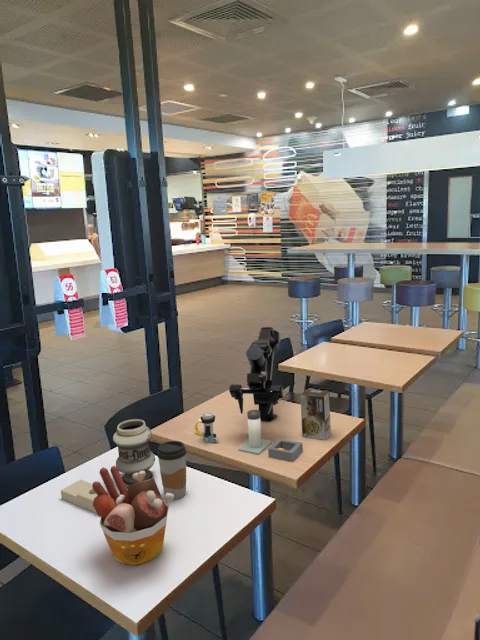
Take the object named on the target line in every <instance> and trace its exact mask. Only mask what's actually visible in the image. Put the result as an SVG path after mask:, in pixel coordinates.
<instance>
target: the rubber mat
mask: <svg viewBox="0 0 480 640" xmlns="http://www.w3.org/2000/svg"><path fill="white" fill-rule="evenodd" d="M272 444H273V442H272V441H271V440H268V439H267V440H266V439H262V446H260V447H257V448H253V447H250V446H249V440H248V441H246V442H245V443H244V444H242V445H241V446H240V447H238V448H237V451H238V452H242V453H247V454H248V453H249V454H254V455H259V456H260V455H261V454H262V453H263V452H264V451H265V450H266V449H267V448H269V447H270V445H272Z"/></svg>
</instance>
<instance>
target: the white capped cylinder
mask: <svg viewBox="0 0 480 640" xmlns="http://www.w3.org/2000/svg"><path fill="white" fill-rule="evenodd" d="M246 415H247V430H248V431H247V432H248V441H249V446H250V447H253V448H257V447H260V446H262V440H263V439H262V423H261V422H262V420H260V411H259V409H250V410H248V411H247V412H246Z"/></svg>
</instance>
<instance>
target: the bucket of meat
mask: <svg viewBox="0 0 480 640" xmlns="http://www.w3.org/2000/svg"><path fill="white" fill-rule="evenodd" d="M109 471H110V472H109ZM110 473H111V474H110ZM121 474H122V473H121V472H120V471H119V470H118V468H117V467H116V465H112V466H111V467H110V470H108V469H107V468H106V467H101V468H100V469H99V475H100V478H101V479H102V482H103V484H104V485H103V484H101V482H99V481H96V480H95V481H93V482H92V484H93V486H92V488H93V490H94V491H95V492H96V494H97V495H98V496H97V497H95V498H94V501H93V507H94V509H95V510H96V512H97V513H96V514H97V516H99V517H100V521H99V525H100V528H101V530H102V533H103V534H104V538H105V539H106V542H107V545H108V548H109V549H110V552H111V555H112V557H113V558H115V559H116V560H117V561H118V562H120V563H121V564H123V565H125V566H139V565H140V566H141V565H144V564H145V563H147V564H148V563H149V562H151V561H152V560H154V559H155V558H156V557H157V556H158V555H159V554H160V553H161V552H162V551H163V548H164V547H163V546H164V541H165V533H166V527H167V522H168V521H167V520H168V513H169V510H170V504H169V502H170V501H174V500H173V498H174V494H171V493H166V495H164V499H163V497H162V494H161V492H160V490H159V486H158V484H157V482H156V479H155V478H154V477H153V478H152V479H148V480H145V481H143V479H144V477H145V475H146V472H145V471H140V472H139V473H134V474H133V475H132V478H133V479H135V480H137V481H138V482H139V483H135V484H132V485H130V486H128V485H125V484H124V481H123V479H122V475H121ZM111 476H112V477H111ZM112 478H113V479H112ZM114 483H115V484H114ZM103 486H105V487H106V489H107V491H108V493H109V495H110V496H109V495H108V494H107V492H106V491H105V489H104V488H103ZM116 487H117V488H116ZM117 489H118V490H117ZM117 491H119V493H120V496H119V494H118V492H117Z"/></svg>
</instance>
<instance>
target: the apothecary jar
mask: <svg viewBox="0 0 480 640" xmlns="http://www.w3.org/2000/svg"><path fill="white" fill-rule="evenodd" d="M116 427H117V428H116V431H115V433H114V434H113V437H112V442H113V443H114V444H115V445H116V446H117V450H118V457H117V459H116V460H115V466H116V467H117V468H118V470H119V472H120V473H121V474H123V475H121V477H122V479H123V481H124V484H125V486H127V487H128V486H130V485H132V484H135V483H139V482H138V481H137V480H135V479H133V478H132V475H133V474H134V473H139V472H140V471H145V472H146V475H145V477H144V479H143V481H145V480H148V479H152V478H154V474H153V472H152V471H151V470H150V469H151V468H152V467H153V466H154V464H155V462H156V457H155V456H156V455H155V454H154V452H152V451H151V448H150V441H151V439H152V437H153V434H152V430H151V429H150V428H149V427H148V426H147V425H146V422H145V421H144V420H143V419H138V418H134V419H128V420H124V421H122V422H120V423H118V425H117V426H116Z"/></svg>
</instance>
